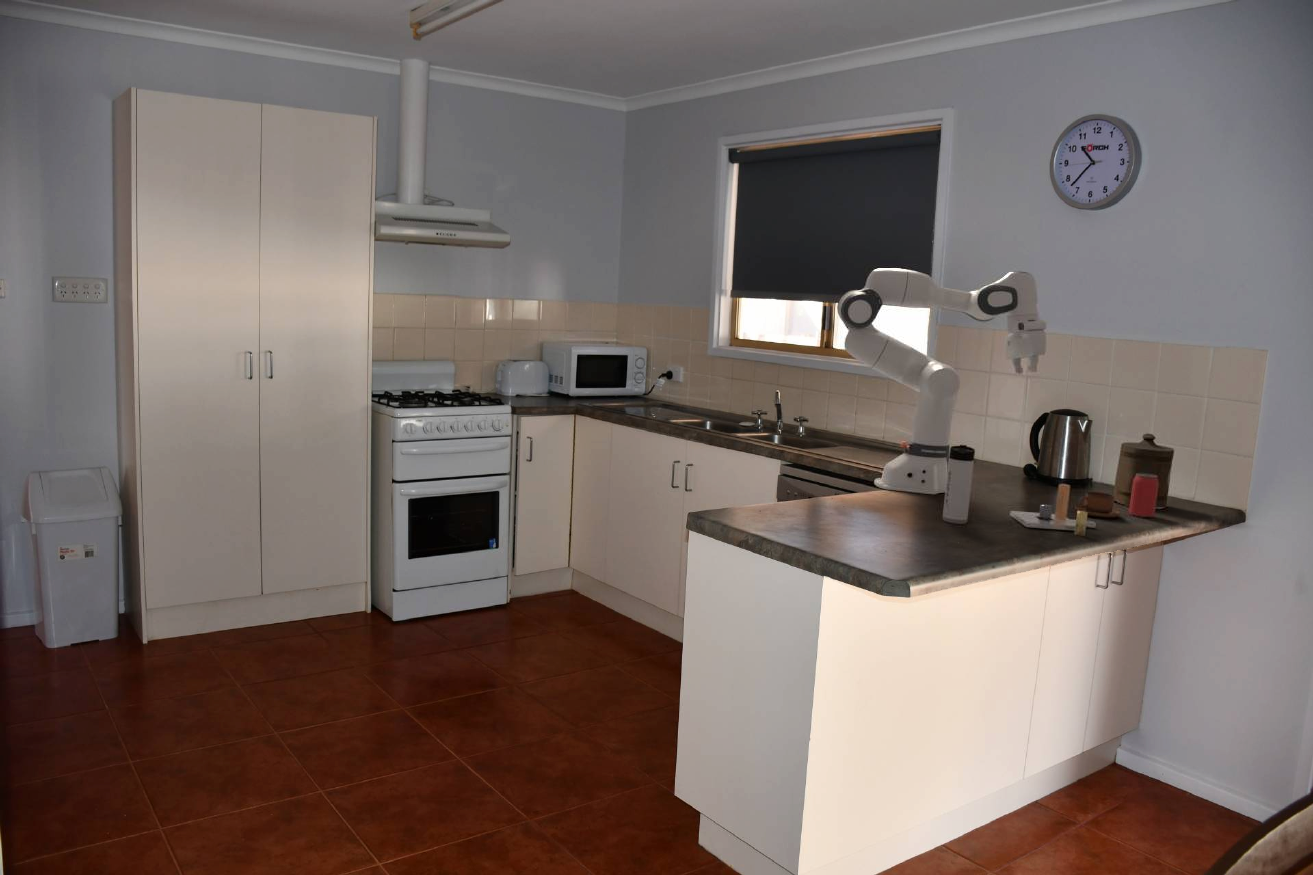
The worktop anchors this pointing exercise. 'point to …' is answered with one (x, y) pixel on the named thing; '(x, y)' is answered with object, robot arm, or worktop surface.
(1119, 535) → the worktop surface
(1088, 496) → the cup and saucer
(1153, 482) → the beer can
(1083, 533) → the brass dowel
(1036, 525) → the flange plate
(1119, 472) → the wooden container
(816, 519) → the worktop surface
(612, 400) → the worktop surface
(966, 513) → the travel mug
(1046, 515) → the grey rectangular block
